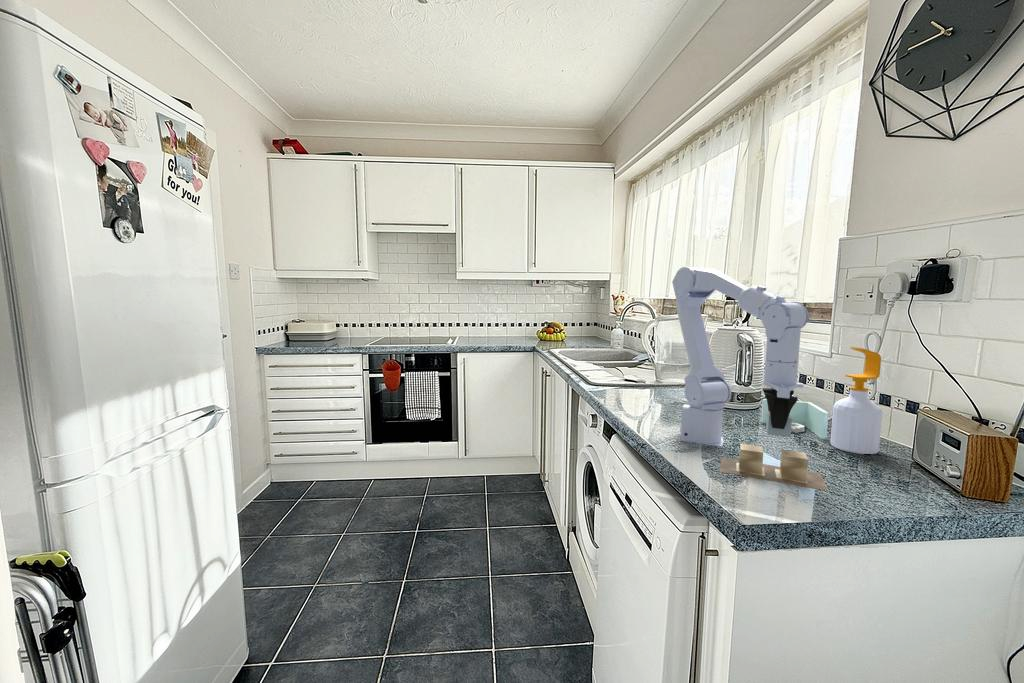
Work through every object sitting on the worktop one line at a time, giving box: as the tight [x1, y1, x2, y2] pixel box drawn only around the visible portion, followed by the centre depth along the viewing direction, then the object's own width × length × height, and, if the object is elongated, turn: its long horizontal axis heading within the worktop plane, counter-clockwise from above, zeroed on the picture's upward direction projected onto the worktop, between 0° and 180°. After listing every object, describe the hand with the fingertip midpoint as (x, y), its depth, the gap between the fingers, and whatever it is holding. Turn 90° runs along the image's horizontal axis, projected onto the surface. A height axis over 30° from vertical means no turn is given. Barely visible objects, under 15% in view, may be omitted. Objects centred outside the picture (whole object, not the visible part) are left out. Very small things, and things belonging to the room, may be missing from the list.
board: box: [719, 457, 829, 492], centre depth 86 cm, size 18×9×1 cm, turn 62°
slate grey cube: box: [765, 411, 792, 438], centre depth 88 cm, size 4×4×4 cm
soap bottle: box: [830, 346, 883, 455], centre depth 101 cm, size 9×9×25 cm
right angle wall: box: [760, 398, 829, 440], centre depth 116 cm, size 12×12×8 cm
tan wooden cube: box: [779, 449, 809, 482], centre depth 84 cm, size 4×4×4 cm
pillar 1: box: [738, 443, 764, 474], centre depth 87 cm, size 4×4×4 cm
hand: (776, 425), depth 88 cm, fingers closed on slate grey cube, 4 cm apart
